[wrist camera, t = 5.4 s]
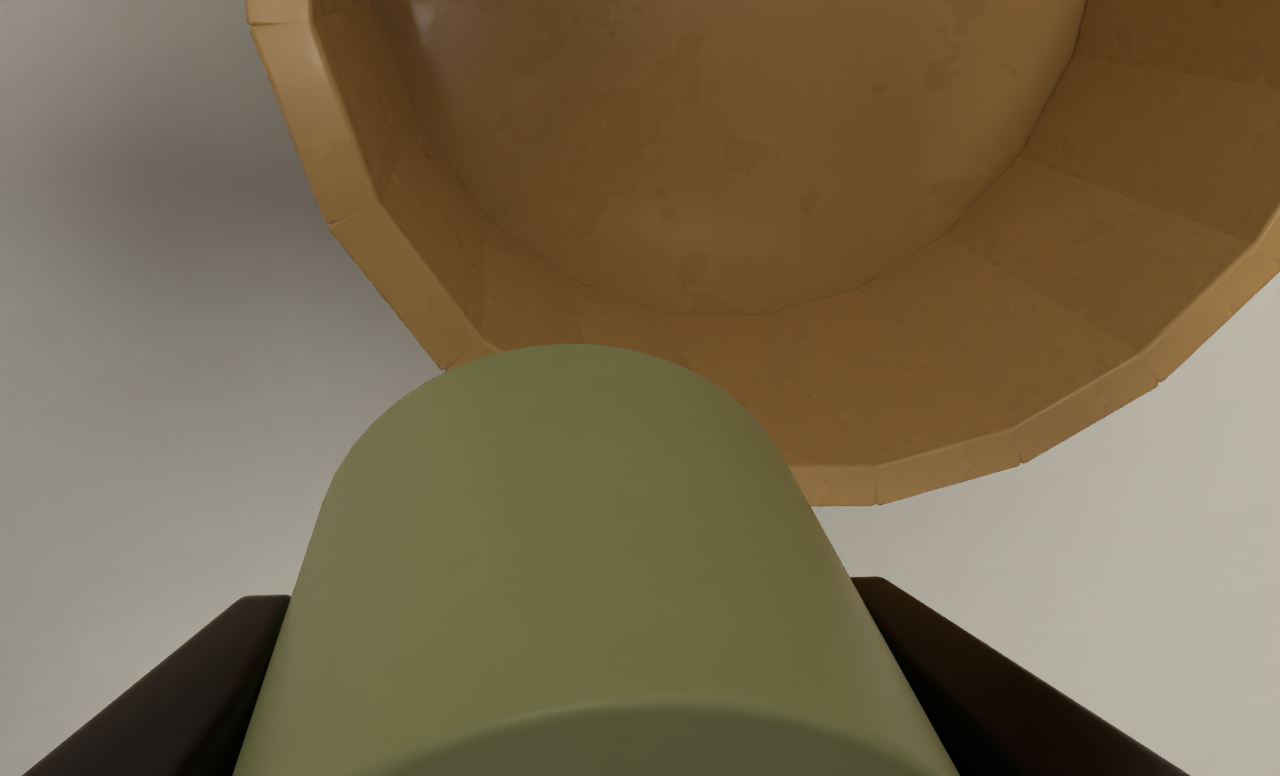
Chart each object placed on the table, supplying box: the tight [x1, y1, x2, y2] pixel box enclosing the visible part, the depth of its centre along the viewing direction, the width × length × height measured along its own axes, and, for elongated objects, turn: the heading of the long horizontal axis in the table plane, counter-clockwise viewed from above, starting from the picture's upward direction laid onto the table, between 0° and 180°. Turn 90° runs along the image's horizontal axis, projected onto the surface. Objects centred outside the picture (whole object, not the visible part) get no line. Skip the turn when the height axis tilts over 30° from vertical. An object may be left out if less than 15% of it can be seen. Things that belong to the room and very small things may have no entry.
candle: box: [232, 344, 960, 776], centre depth 7 cm, size 5×5×4 cm
